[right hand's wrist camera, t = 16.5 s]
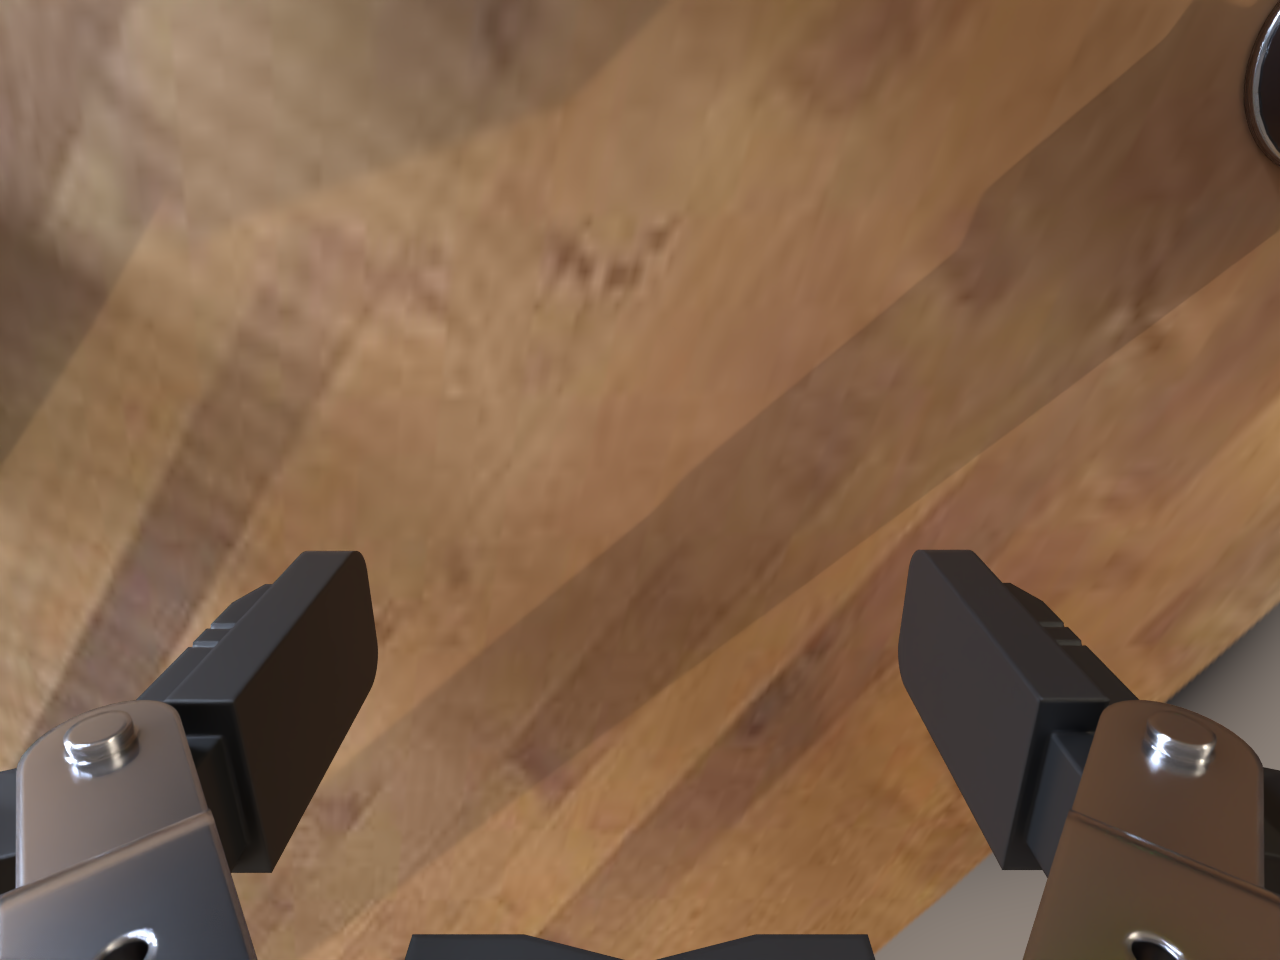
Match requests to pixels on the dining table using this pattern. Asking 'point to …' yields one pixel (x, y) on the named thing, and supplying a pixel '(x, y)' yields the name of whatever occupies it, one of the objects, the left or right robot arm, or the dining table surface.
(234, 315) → the dining table surface
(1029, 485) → the dining table surface
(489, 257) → the dining table surface
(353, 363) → the dining table surface
